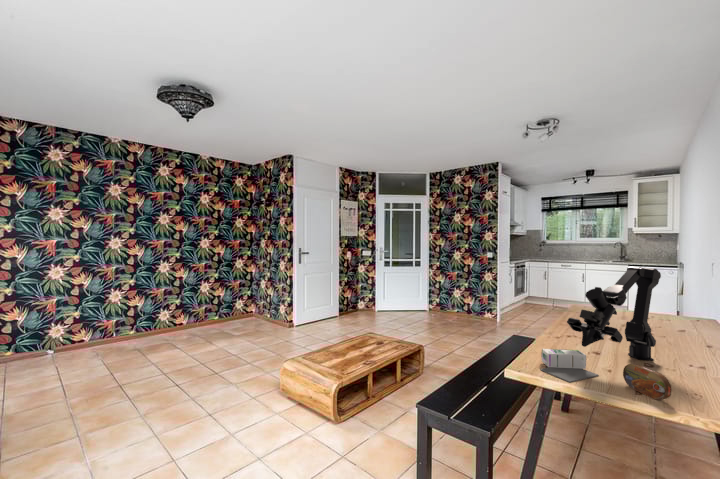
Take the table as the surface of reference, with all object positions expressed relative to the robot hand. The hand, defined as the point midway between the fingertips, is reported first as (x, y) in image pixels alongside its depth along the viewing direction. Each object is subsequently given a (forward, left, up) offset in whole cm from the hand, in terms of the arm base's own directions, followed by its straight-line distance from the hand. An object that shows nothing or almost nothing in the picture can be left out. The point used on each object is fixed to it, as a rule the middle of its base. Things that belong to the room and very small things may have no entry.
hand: (583, 345), depth 129 cm
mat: (+7, +4, -10) cm, 12 cm away
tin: (-11, +18, -10) cm, 23 cm away
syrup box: (-1, -3, -6) cm, 7 cm away
